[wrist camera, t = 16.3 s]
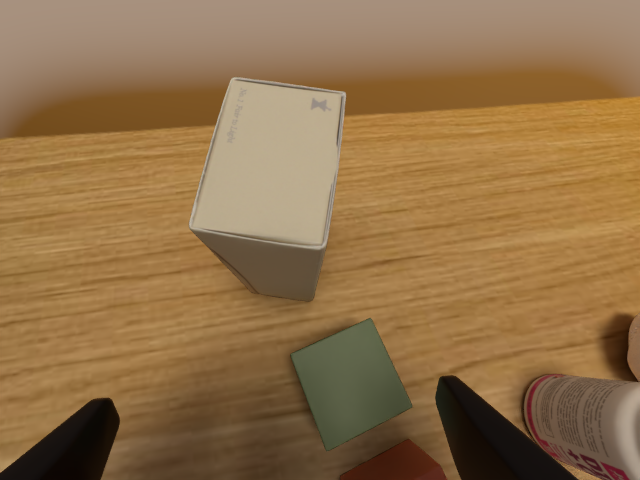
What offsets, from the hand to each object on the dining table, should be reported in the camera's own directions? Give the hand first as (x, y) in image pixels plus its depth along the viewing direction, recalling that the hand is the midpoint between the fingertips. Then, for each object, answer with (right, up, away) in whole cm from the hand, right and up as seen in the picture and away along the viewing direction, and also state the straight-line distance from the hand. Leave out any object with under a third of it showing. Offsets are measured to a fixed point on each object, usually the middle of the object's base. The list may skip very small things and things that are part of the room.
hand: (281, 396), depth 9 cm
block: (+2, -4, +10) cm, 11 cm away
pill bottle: (+16, -6, +10) cm, 20 cm away
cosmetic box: (-1, +3, +13) cm, 14 cm away
